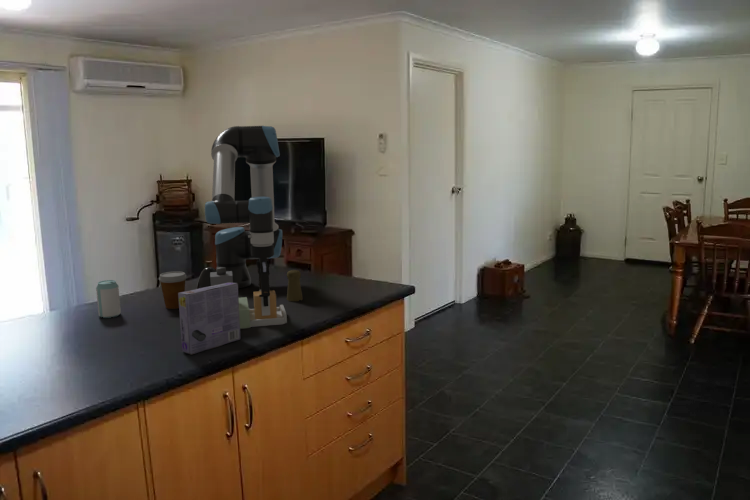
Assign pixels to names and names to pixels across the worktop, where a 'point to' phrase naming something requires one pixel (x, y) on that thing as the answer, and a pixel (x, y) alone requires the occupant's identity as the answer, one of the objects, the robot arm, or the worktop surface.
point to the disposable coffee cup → (172, 287)
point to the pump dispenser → (205, 278)
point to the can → (108, 299)
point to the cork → (294, 286)
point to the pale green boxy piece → (246, 303)
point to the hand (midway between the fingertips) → (265, 311)
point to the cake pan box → (209, 317)
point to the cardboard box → (259, 309)
